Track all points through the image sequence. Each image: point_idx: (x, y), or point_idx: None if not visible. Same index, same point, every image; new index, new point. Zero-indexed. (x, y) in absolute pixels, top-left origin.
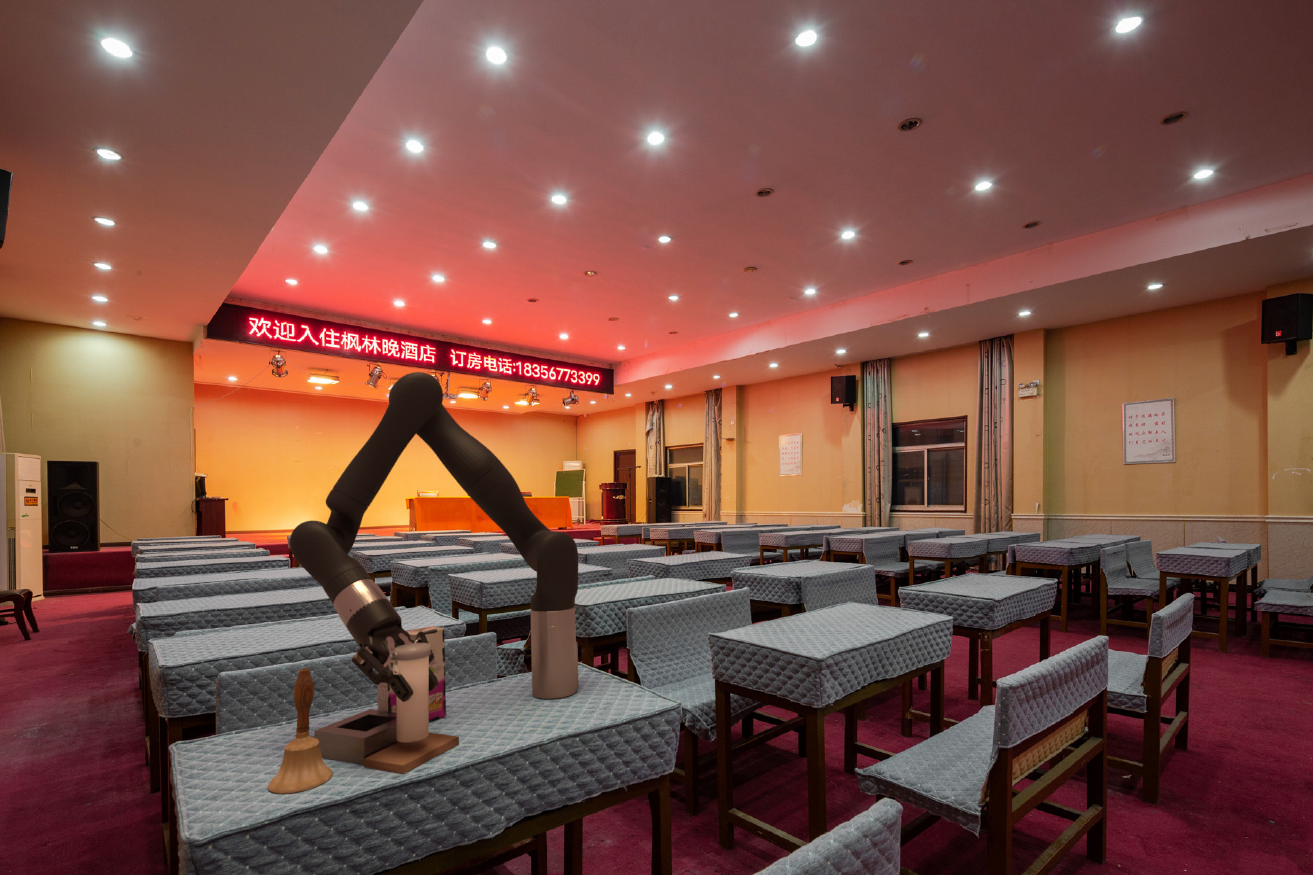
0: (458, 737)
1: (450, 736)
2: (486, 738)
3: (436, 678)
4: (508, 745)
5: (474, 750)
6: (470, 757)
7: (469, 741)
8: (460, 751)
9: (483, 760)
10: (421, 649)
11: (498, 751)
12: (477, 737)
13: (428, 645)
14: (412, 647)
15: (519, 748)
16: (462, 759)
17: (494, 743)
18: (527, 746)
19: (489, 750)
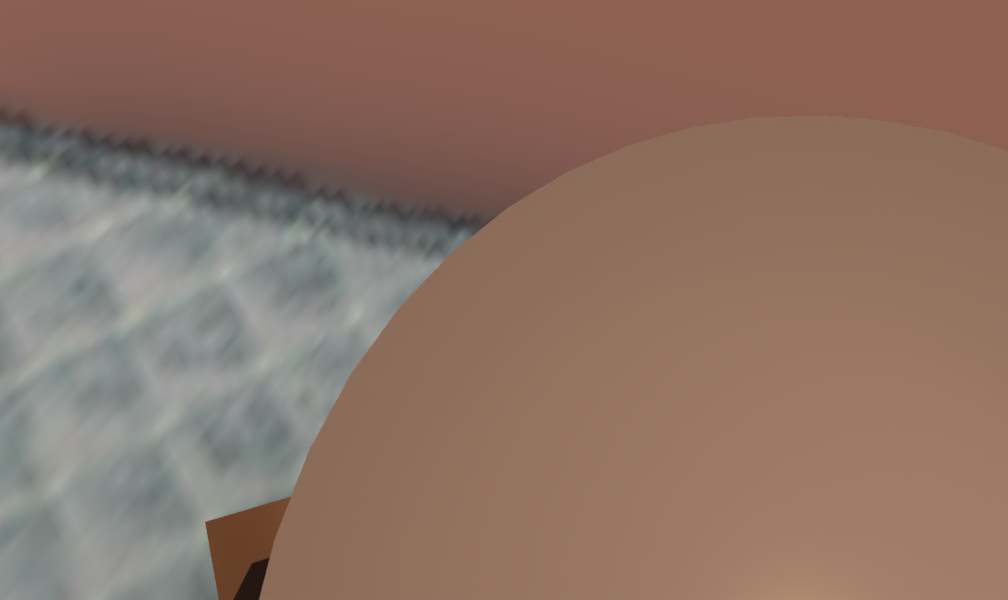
0: (211, 520)
1: (235, 579)
2: (49, 457)
3: (246, 596)
4: (82, 242)
5: (240, 348)
6: (324, 281)
7: (146, 510)
8: (296, 407)
9: (313, 192)
10: (834, 121)
11: (181, 221)
12: (62, 529)
13: (467, 337)
14: (996, 588)
15: (90, 159)
16: (367, 295)
17: (96, 337)
18: (45, 144)
19: (195, 274)
